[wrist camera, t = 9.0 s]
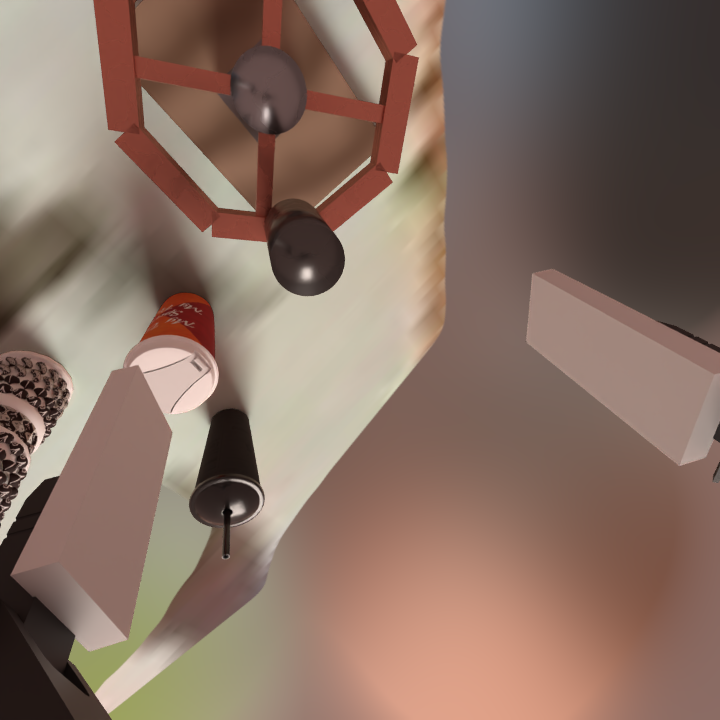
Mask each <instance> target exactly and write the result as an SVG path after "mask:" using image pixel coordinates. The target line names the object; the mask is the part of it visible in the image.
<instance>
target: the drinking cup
mask: <svg viewBox="0 0 720 720" xmlns="http://www.w3.org/2000/svg"><path fill="white" fill-rule="evenodd" d="M264 500H265V497H264V491H263V489H262V487H261V486H260V481H259V476H258V470H257V464H256V459H255V453H254V447H253V442H252V436H251V430H250V425H249V420H248V417H247V416H246V415H245V414H244V413H243V412H241V411H239V410H236V409H226V410H222V411H220V412H218V413H217V414H216V415H215V416H214V417H213V419H212V421H211V425H210V430H209V434H208V438H207V442H206V446H205V450H204V454H203V458H202V462H201V466H200V470H199V474H198V478H197V482H196V486H195V489H194V491H193V492H192V494H191V496H190V500H189V508H190V512H191V513H192V515H193V517H194V518H195V519H196V520H198V521H199V522H200V523H202V524H205V525H207V526H211V527H216V528H223V546H222V558H223V559H228V558H229V557H230V527H235V526H239V525H242V524H244V523H246V522H248V521H250V520H252V519H253V518H254V517H255V516H257V515H258V513H259V512H260V511H261V509H262V507H263V505H264Z"/></svg>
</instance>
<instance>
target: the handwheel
mask: <svg viewBox="0 0 720 720" xmlns="http://www.w3.org/2000/svg"><path fill="white" fill-rule="evenodd" d="M136 1H137V0H94V9H95V17H96V26H97V35H98V44H99V52H100V61H101V70H102V79H103V87H104V96H105V105H106V114H107V122H108V130H114V131H120V132H124V133H123V134H122V135H121V136H120V137H119V138H118V139H117V140H116V141H115V143H116V144H117V145H118V146H119V147H120V148H121V149H122V150H123V151H124V152H125V153H126V154H127V155H128V156H129V157H130V158H131V159H132V160H133V161H134V162H135V163H136V165H137V166H138V167H139V168H140V169H141V170H142V171H143V172H144V173H145V174H146V175H147V176H148V177H149V178H150V179H151V180H152V181H153V182H154V183H155V184H156V185H157V186H158V187H159V188H160V189H161V190H162V191H163V192H164V193H165V194H166V195H167V196H168V197H169V198H170V199H171V200H172V201H173V202H174V203H175V204H176V206H177V207H178V208H179V209H180V210H181V211H182V212H183V213H184V214H185V215H186V216H187V217H188V218H189V219H190V220H191V221H192V222H193V223H194V224H195V225H196V226H197V227H198V228H199V229H200V230H201V231H202V232H203V231H204V230H206V229H207V228H208V227H209V226H210V225H211V224H212V237H219V238H230V239H241V240H251V241H262V242H267V246H268V251H269V256H270V261H271V266H272V270H273V273H274V275H275V277H276V279H277V281H278V282H279V283H280V284H281V285H282V286H283V287H284V288H285V289H286V290H288V291H290V292H292V293H294V294H297V295H301V296H314V295H318V294H321V293H324V292H325V291H327V290H329V289H330V288H331V287H333V286H334V285H335V284H336V282H337V281H338V280H339V278H340V276H341V274H342V272H343V269H344V264H345V255H344V250H343V247H342V244H341V242H340V241H339V239H338V238H337V236H336V235H335V234H334V232H333V231H334V230H336V229H337V228H338V227H339V226H341V225H342V224H343V223H344V222H345V221H347V220H348V219H349V218H350V217H351V216H353V215H354V214H355V213H356V212H357V211H359V210H360V209H361V208H362V207H364V206H365V205H366V204H367V203H368V202H370V201H371V200H372V199H373V198H374V197H376V196H377V195H378V194H379V193H380V192H382V191H383V190H384V189H385V188H387V187H388V186H389V185H390V184H391V183H393V182H392V180H391V179H390V177H389V176H388V174H387V172H390V173H396V174H398V169H399V164H400V158H401V153H402V147H403V142H404V136H405V131H406V125H407V120H408V114H409V109H410V103H411V98H412V92H413V87H414V81H415V76H416V70H417V65H418V59H419V57H415V56H410V55H406V54H407V53H408V52H410V51H411V50H412V49H413V48H414V47H415V46H416V45H417V43H416V41H415V39H414V37H413V35H412V33H411V31H410V29H409V27H408V25H407V23H406V21H405V19H404V17H403V14H402V12H401V10H400V8H399V6H398V4H397V2H396V0H354V2H355V4H356V6H357V8H358V10H359V12H360V14H361V15H362V17H363V19H364V21H365V23H366V25H367V27H368V29H369V30H370V32H371V34H372V36H373V38H374V40H375V42H376V44H377V45H378V47H379V49H380V51H381V53H382V55H383V57H384V58H385V60H386V62H385V69H384V75H383V82H382V88H381V95H380V102H379V104H375V103H370V102H365V101H360V100H355V99H349V98H344V97H339V96H334V95H329V94H324V93H319V92H314V91H309V90H307V88H306V83H305V79H304V76H303V74H302V72H301V70H300V68H299V66H298V65H297V63H296V62H295V61H294V60H293V59H292V58H291V57H290V56H289V55H288V54H287V53H285V52H284V51H282V50H280V38H281V19H282V0H263V16H262V44H261V46H256V47H253V48H251V49H249V50H247V51H246V52H245V53H243V54H242V55H241V56H240V57H239V59H238V60H237V62H236V63H235V65H234V68H233V71H232V74H231V75H229V74H224V73H219V72H214V71H209V70H204V69H199V68H194V67H189V66H184V65H179V64H174V63H169V62H164V61H159V60H154V59H149V58H144V57H139V52H138V39H137V27H136V14H135V2H136ZM141 79H144V80H150V81H155V82H160V83H166V84H171V85H177V86H182V87H187V88H193V89H198V90H203V91H209V92H214V93H220V94H225V95H230V96H232V100H233V103H234V105H235V108H236V110H237V112H238V113H239V115H240V116H241V118H242V119H243V120H244V121H245V122H246V123H247V124H248V125H249V126H250V127H252V128H253V129H255V130H257V131H259V132H258V158H257V187H256V212H250V211H241V210H233V209H224V208H218V207H217V206H216V205H215V204H214V203H213V202H212V201H211V200H210V199H209V197H208V196H207V195H206V194H205V193H204V192H203V191H202V190H201V189H200V188H199V186H198V185H197V184H196V183H195V182H194V181H193V180H192V179H191V178H190V177H189V176H188V174H187V173H186V172H185V171H184V170H183V169H182V168H181V167H180V166H179V165H178V164H177V162H176V161H175V160H174V159H173V158H172V157H171V156H170V155H169V154H168V153H167V152H166V150H165V149H164V148H163V147H162V146H161V145H160V144H159V143H158V142H157V141H156V139H155V138H154V137H153V136H152V135H151V134H150V133H149V132H148V131H147V130H146V129H145V127H144V116H143V103H142V90H141ZM305 109H306V110H311V111H316V112H322V113H327V114H332V115H338V116H343V117H349V118H354V119H359V120H365V121H370V122H375V123H376V128H375V135H374V141H373V148H372V154H371V161H370V163H369V164H368V165H367V166H366V167H365V168H363V169H362V170H361V171H360V172H359V173H358V174H356V175H355V176H354V177H353V178H352V179H350V180H349V181H348V182H347V183H346V184H344V185H343V186H342V187H341V188H340V189H339V190H337V191H336V192H335V193H334V194H333V195H331V196H330V197H329V198H328V199H327V200H325V201H324V202H323V203H322V204H321V205H320V206H318V207H317V208H316V209H315V208H314V207H313V206H312V205H311V204H309V203H308V202H306V201H304V200H301V199H295V198H291V199H285V200H282V201H280V202H278V203H277V204H275V205H274V206H273V207H272V191H273V172H274V153H275V135H276V134H282V133H284V132H287V131H289V130H290V129H292V128H293V127H294V126H295V125H296V124H297V123H298V122H299V121H300V119H301V117H302V115H303V113H304V111H305Z"/></svg>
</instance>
